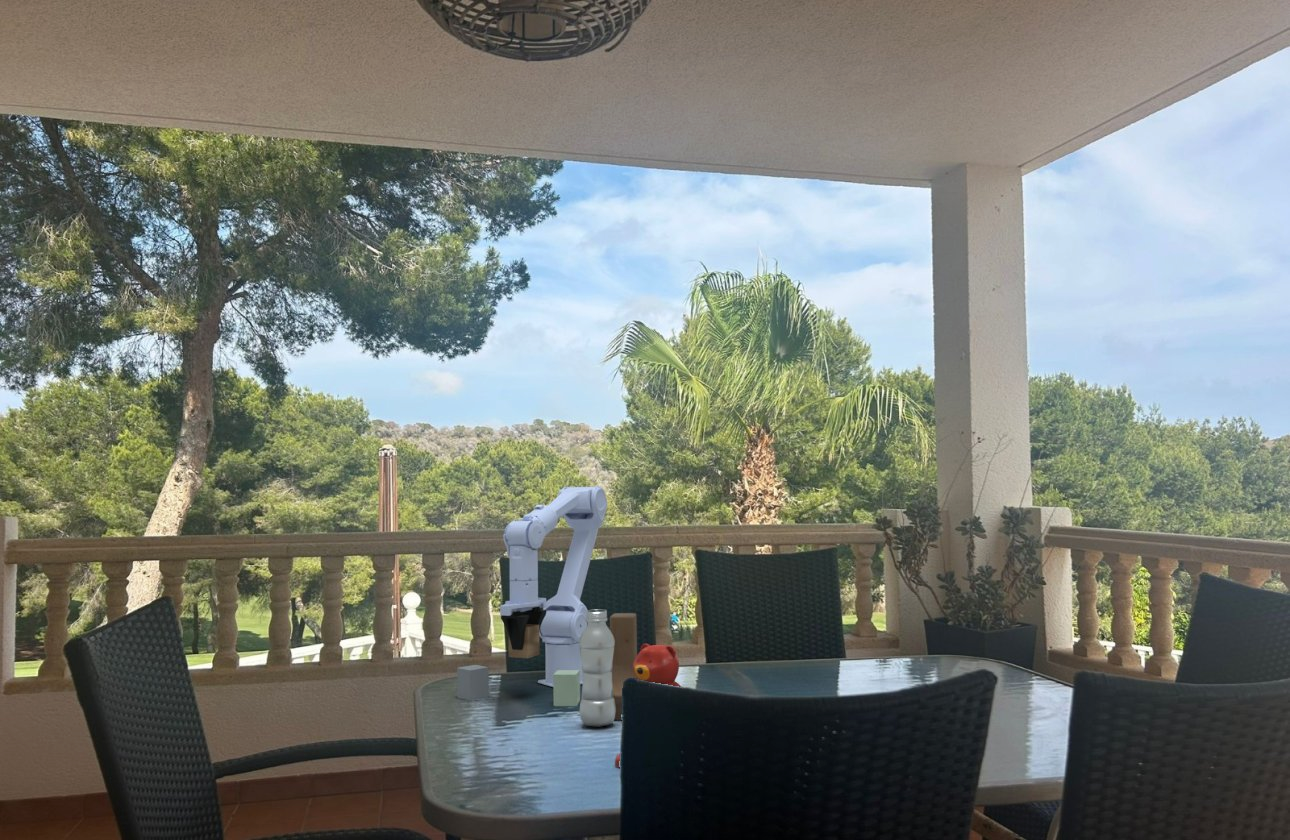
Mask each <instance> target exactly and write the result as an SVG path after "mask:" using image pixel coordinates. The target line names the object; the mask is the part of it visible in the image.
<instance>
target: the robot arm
mask: <svg viewBox="0 0 1290 840" xmlns="http://www.w3.org/2000/svg"><path fill="white" fill-rule="evenodd" d="M607 507H608V500H607V495H606V491H605V489H604V488H603V487H602V486H601V485H596V486H564V487H562V488H561V489H559V490H558V494H557V497H556V498H554V499H553V500H552V501H551V502H550V503H549V504H548V505H544V504H537V505H535V506H534V509H533V510H531V512H529V513H528V514H524V515H523V517H522V518H520V520H512V521H511V522H510V523H508V524H507V525H506V526H505V529H504V532H503V535H502V536H503V537H502V538H503V543H504V545H505V548H506V555H507V557H508V558H509V600H506V601H505V603H504V604H502V605H500V606H499V607H500V608H499V612H500V615H499V616H500V619H501V621H502V622H503V625H504V627H505V629H506V631H507V634H508V639H509V638H510V642H511V646H512V650H522V649H523V645H524V634H525V628H526V624H533V625H539V638H541V639H542V641H541V642H542V643H545V645H544V647H545V648H544V649H545V650H544V651H545V653H544V654H545V679H539V680H537V683H538V684H542V685H543V686H544V685H545V686H548V687H552V688H553V674H554V673H555V672H556V671H557V670H580V685H582V684H583V675H582V674H583V671H582V661H581V654H580V647H579V640H580V636H581V634H582V633H583V631H584V629H585V628H586V626H587V625H588V622H586V618H587V610H588V608H587V606H586V605H585V604H584V603H583V602H582V601H581V597H582V594H583V590H584V585H585V581H586V578H587V575H588V570H589V567H590V563H591V559H592V555H593V551H594V549H595V544H596V540H597V536H598V532H599V528H600V527H602V526H603V522H604V520H605V515H606V511H607ZM561 517H563V518H564V520H565V523H566V524H567V526H568V527H569V528H571V529H572V530H573V534H572V539H571V542H570V546H569V549H568V553H567V556H566V560H565V563H564V567H563V571H562V574H561V578H560V580H559V581H560V582H559V586H558V588H557V589H558V590H557V591H556V594H555V595H554V596H553V597H550V598H549V599H548V600H547V598H546V597H539V578H538V577H539V563H538V562H539V559H538V558H539V557H538V556H539V555H538V550H539V549H540V548H541V547H542V545H543V542H544V539H545V538H546V536H547V535H548V534H549V533H550V532H551V531H553V530H554V529H555V528H556V527H557V525H558V521H559V519H560V518H561Z"/></svg>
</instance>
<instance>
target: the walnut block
mask: <svg viewBox="0 0 1290 840" xmlns="http://www.w3.org/2000/svg"><path fill="white" fill-rule="evenodd" d="M539 655H540V636H539V625H533V624H526V628H525V634H524V645H523V649H522V650H512V646H511V642H510V638H509V637H508V658H517V659H519V658H521V659H530V658H533V657H536V656H539Z"/></svg>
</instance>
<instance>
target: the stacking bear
mask: <svg viewBox="0 0 1290 840" xmlns="http://www.w3.org/2000/svg"><path fill="white" fill-rule="evenodd" d="M639 649H640V651H639V652H638V653H637V657H636V659H635V661H634V664H633V670H634V674H635V676H636V678H637V680H638V679H639V680H644V681H648V682H655V683H661V684H668V685H673V686H679V687H682V686H681V685H680V683H678V682H677V681H676V679H677V677H678V674H679V669H680V662H679V658H678V656H677V651H676V648H675V647H674V646H672V645H664V644H654V645H650V644H649V643H643V644H642V645H641V646H640V648H639ZM619 761H620V753H618V754H617V755H616V756H615V759H614V766H615V767H616V768H619Z"/></svg>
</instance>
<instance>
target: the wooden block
mask: <svg viewBox="0 0 1290 840" xmlns="http://www.w3.org/2000/svg"><path fill="white" fill-rule="evenodd" d="M637 625H638V624H637V613H636V612H635V613H634V612H626V613H625V612H623V613H622V612H616V613H613V614H611V615H610V617H609V629H610V631H611V632H612V634H613V636H614V640H615V645H614V653H613V663H612V684H613V695H614V696H613V697H614V700H615V705H616V714H615V719H614V721H622V720H621V714H622V688H623V682H624V681H625V680H626V679H628V678H636V676H635V674H634V670H633V664H634V661H635V659H636V657H637V655H638V640H637V639H638V636H637V635H638V633H637V627H638V626H637Z"/></svg>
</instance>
